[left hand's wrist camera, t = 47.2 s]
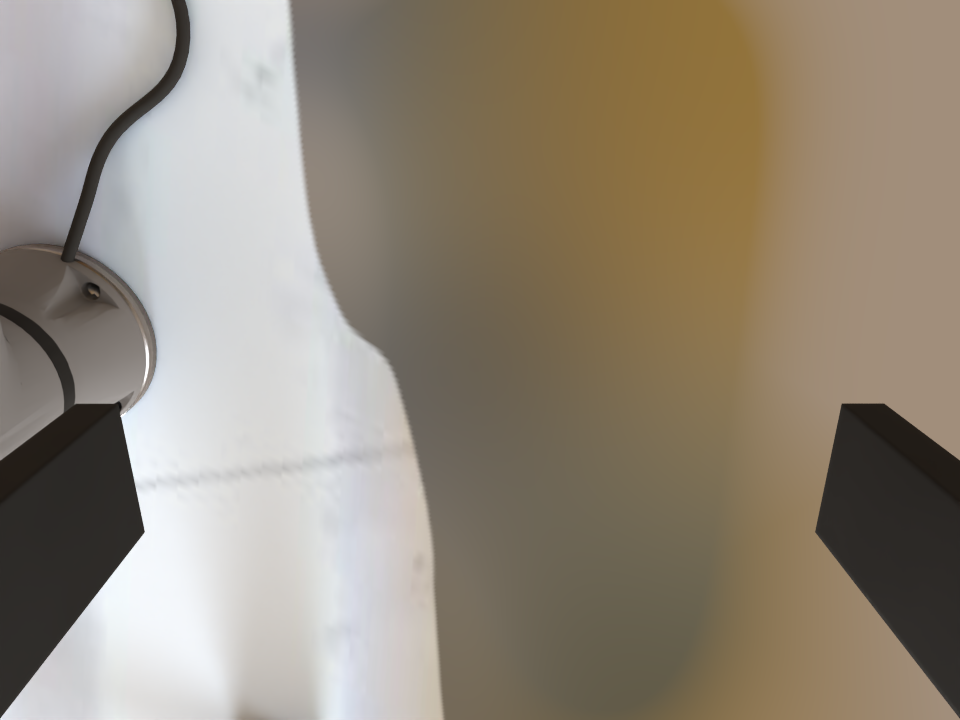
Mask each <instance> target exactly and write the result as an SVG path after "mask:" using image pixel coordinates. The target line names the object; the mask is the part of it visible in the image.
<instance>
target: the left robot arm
mask: <svg viewBox="0 0 960 720" xmlns="http://www.w3.org/2000/svg"><path fill="white" fill-rule="evenodd" d="M171 1H172V4H173V8H174V12H175V18H176V30H177V37H176V47H175V52H174V56H173V60H172V62H171V64H170V67H169V69H168V71H167V72H166V74H165V75H164V77H163V78H162V79H161V81H160V82H159V83H158V84H157V85H156V86H155V87H154V88H153V89H152V90H151V91H150V92H149V93H147V94H146V95H145V96H144V97H143V98H141V99H140V100H139V101H137V102H136V103H135V104H134V105H132V106H131V107H130V108H129V109H127V110H126V111H125V112H124V113H123V114H122V115H120V116H119V117H118V118H117V119H116V120H115V121H114V122H113V123H112V125H111V126H110V127H109V128H108V130H107V131H106V132H105V134H104V135H103V137H102V138H101V140H100V142H99V143H98V145H97V147H96V149H95V152H94V154H93V156H92V159H91V162H90V164H89V168H88V171H87V174H86V178H85V182H84V186H83V189H82V193H81V196H80V200H79V203H78V206H77V209H76V212H75V215H74V218H73V221H72V224H71V227H70V230H69V234H68V237H67V240H66V243H65V246H64V247H61V246H55V245H49V244H28V245H20V246H16V247H12V248H9V249H6V250H2V251H0V718H1V717H2V715H3V714H4V713H5V712H6V710H7V709H8V708H9V706H10V705H11V704H12V702H13V701H14V700H15V699H16V697H17V696H18V695H19V693H20V692H21V691H22V690H23V688H24V687H25V686H26V684H27V683H28V682H29V681H30V679H31V678H32V677H33V675H34V674H35V673H36V672H37V670H38V669H39V668H40V666H41V665H42V664H43V663H44V661H45V660H46V659H47V657H48V656H49V655H50V654H51V652H52V651H53V650H54V648H55V647H56V646H57V644H58V643H59V642H60V641H61V639H62V638H63V637H64V635H65V634H66V633H67V632H68V630H69V629H70V628H71V626H72V625H73V624H74V623H75V621H76V620H77V619H78V617H79V616H80V615H81V614H82V612H83V611H84V610H85V608H86V607H87V606H88V605H89V603H90V602H91V601H92V599H93V598H94V597H95V596H96V594H97V593H98V592H99V590H100V589H101V588H102V587H103V585H104V584H105V583H106V581H107V580H108V579H109V577H110V576H111V575H112V574H113V572H114V571H115V570H116V568H117V567H118V566H119V565H120V563H121V562H122V561H123V559H124V558H125V557H126V556H127V554H128V553H129V552H130V550H131V549H132V548H133V547H134V545H135V544H136V543H137V541H138V540H139V539H140V538H141V536H142V535H143V534H144V532H145V531H144V526H143V521H142V516H141V512H140V507H139V502H138V497H137V492H136V487H135V483H134V478H133V473H132V468H131V463H130V458H129V454H128V449H127V444H126V439H125V434H124V429H123V425H122V420H121V417H122V416H123V415H124V414H125V413H126V412H127V411H129V410H130V409H131V408H132V407H133V406H134V405H135V404H136V403H137V402H138V401H139V400H140V399H141V398H142V396H143V395H144V394H145V392H146V391H147V389H148V387H149V385H150V383H151V381H152V378H153V375H154V371H155V366H156V341H155V336H154V331H153V328H152V325H151V322H150V320H149V317H148V315H147V313H146V311H145V309H144V307H143V305H142V304H141V302H140V301H139V299H138V298H137V296H136V295H135V294H134V292H133V291H132V290H131V289H130V287H129V286H128V285H127V284H126V283H125V282H124V281H123V280H122V279H121V278H120V277H119V276H118V275H116V274H115V273H114V272H113V271H111V270H110V269H109V268H108V267H106V266H105V265H103V264H102V263H100V262H98V261H97V260H95V259H93V258H91V257H89V256H87V255H85V254H83V253H80V252H78V251H77V250H78V247H79V244H80V241H81V238H82V235H83V231H84V228H85V225H86V222H87V219H88V216H89V213H90V210H91V207H92V204H93V201H94V197H95V194H96V190H97V186H98V183H99V179H100V176H101V172H102V169H103V166H104V164H105V161H106V159H107V157H108V155H109V153H110V151H111V149H112V147H113V146H114V144H115V143H116V141H117V140H118V139H119V137H120V136H121V135H122V134H123V133H124V132H125V131H126V130H127V129H128V128H129V127H130V126H131V125H132V124H133V123H134V122H135V121H137V120H138V119H139V118H140V117H142V116H143V115H144V114H146V113H147V112H148V111H149V110H151V109H152V108H153V107H154V106H156V105H157V104H158V103H159V102H161V101H162V100H163V99H164V98H165V97H166V96H167V95H168V94H169V93H170V91H171V90H172V89H173V88H174V87H175V85H176V83H177V82H178V80H179V79H180V77H181V75H182V72H183V70H184V68H185V65H186V61H187V57H188V53H189V45H190V22H189V16H188V10H187V6H186V2H185V0H171ZM815 532H816V534H817V535H818V536H819V538H820V539H821V540H822V541H823V543H824V544H825V545H826V547H827V548H828V549H829V550H830V552H831V553H832V554H833V556H834V557H835V558H836V559H837V561H838V562H839V563H840V565H841V566H842V567H843V568H844V570H845V571H846V572H847V574H848V575H849V576H850V577H851V579H852V580H853V581H854V583H855V584H856V585H857V587H858V588H859V589H860V590H861V592H862V593H863V594H864V596H865V597H866V598H867V599H868V601H869V602H870V603H871V604H872V606H873V607H874V608H875V610H876V611H877V612H878V614H879V615H880V616H881V617H882V619H883V620H884V621H885V623H886V624H887V625H888V626H889V628H890V629H891V630H892V632H893V633H894V634H895V635H896V637H897V638H898V639H899V641H900V642H901V643H902V644H903V646H904V647H905V648H906V650H907V651H908V652H909V653H910V655H911V656H912V657H913V659H914V660H915V661H916V663H917V664H918V665H919V666H920V668H921V669H922V670H923V672H924V673H925V674H926V675H927V677H928V678H929V679H930V681H931V682H932V683H933V684H934V686H935V687H936V688H937V690H938V691H939V692H940V693H941V695H942V696H943V697H944V699H945V700H946V701H947V702H948V704H949V705H950V706H951V708H952V709H953V710H954V711H955V713H956V714H957V715H958V717H959V718H960V460H958V459H957V458H956V457H954V456H953V455H952V454H950V453H949V452H948V451H946V450H945V449H944V448H942V447H941V446H940V445H938V444H937V443H936V442H934V441H933V440H932V439H930V438H929V437H928V436H926V435H925V434H924V433H922V432H921V431H920V430H918V429H917V428H916V427H914V426H913V425H912V424H910V423H909V422H908V421H906V420H905V419H904V418H902V417H901V416H900V415H898V414H897V413H896V412H895V411H893V410H892V409H891V408H889V407H888V406H887V405H885V404H842V405H841V410H840V415H839V420H838V425H837V429H836V434H835V439H834V444H833V449H832V454H831V458H830V463H829V468H828V473H827V478H826V483H825V487H824V492H823V497H822V502H821V507H820V512H819V517H818V521H817V526H816V531H815Z"/></svg>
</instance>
